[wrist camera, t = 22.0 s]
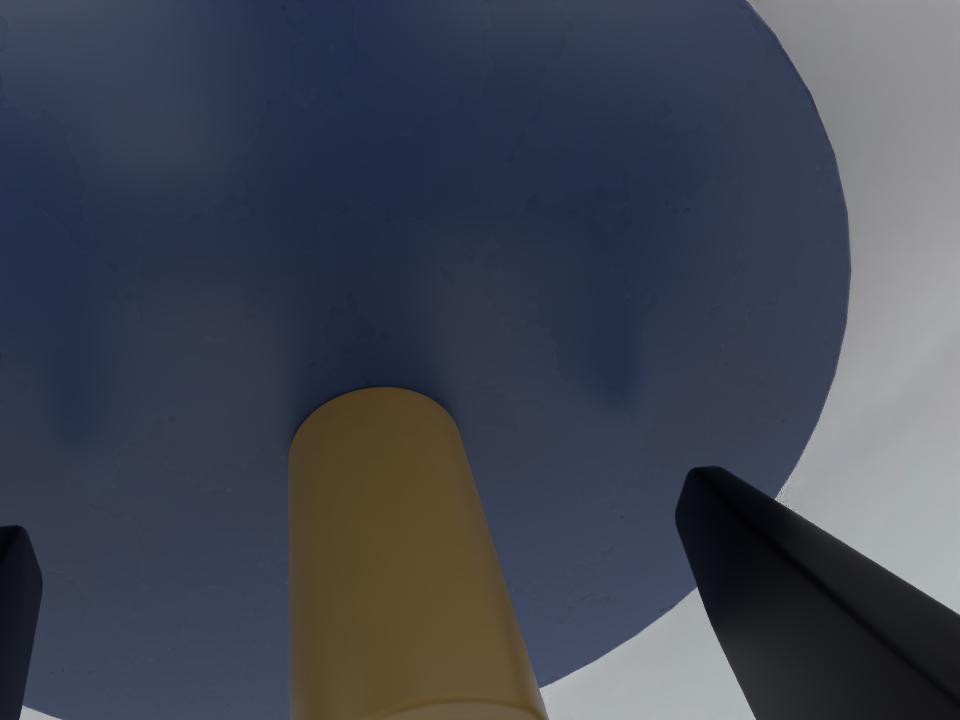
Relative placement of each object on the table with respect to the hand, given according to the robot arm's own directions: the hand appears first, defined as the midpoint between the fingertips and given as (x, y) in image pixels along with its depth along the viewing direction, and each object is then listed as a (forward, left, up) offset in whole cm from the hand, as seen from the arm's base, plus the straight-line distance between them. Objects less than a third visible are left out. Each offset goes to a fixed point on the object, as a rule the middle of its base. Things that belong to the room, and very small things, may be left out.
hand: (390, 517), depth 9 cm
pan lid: (0, 0, -2) cm, 2 cm away
